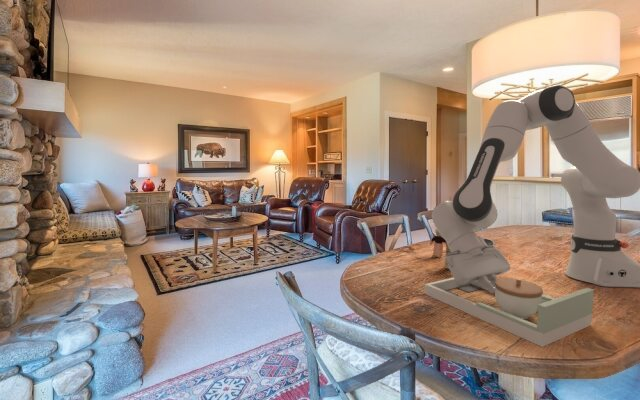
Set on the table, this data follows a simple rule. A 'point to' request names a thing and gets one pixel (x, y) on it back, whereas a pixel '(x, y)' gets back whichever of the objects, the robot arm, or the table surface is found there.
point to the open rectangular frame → (554, 311)
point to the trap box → (441, 293)
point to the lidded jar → (518, 297)
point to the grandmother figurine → (438, 245)
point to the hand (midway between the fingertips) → (496, 291)
